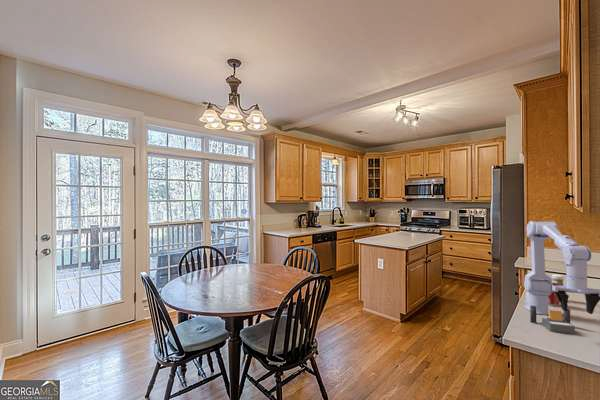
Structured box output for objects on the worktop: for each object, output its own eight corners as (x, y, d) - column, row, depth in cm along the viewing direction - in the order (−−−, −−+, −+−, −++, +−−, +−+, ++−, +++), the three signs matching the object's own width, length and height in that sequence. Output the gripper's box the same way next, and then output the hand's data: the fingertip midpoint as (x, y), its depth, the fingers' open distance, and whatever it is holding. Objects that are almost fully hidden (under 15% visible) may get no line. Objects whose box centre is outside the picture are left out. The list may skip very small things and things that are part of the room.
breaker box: (542, 325, 118) (542, 315, 118) (565, 327, 115) (565, 318, 115) (550, 331, 112) (550, 321, 112) (574, 334, 110) (574, 324, 110)
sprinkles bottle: (566, 301, 148) (565, 276, 148) (556, 301, 148) (556, 276, 149) (559, 298, 152) (559, 274, 152) (550, 298, 153) (550, 273, 153)
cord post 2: (562, 324, 118) (562, 308, 118) (568, 325, 118) (568, 308, 118) (565, 326, 116) (565, 309, 117) (571, 327, 116) (571, 310, 116)
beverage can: (542, 301, 147) (542, 279, 148) (558, 304, 143) (558, 281, 144) (543, 304, 142) (543, 281, 143) (560, 307, 138) (559, 283, 139)
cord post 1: (529, 321, 122) (529, 305, 122) (534, 321, 121) (534, 305, 121) (531, 322, 120) (531, 306, 120) (537, 323, 119) (537, 307, 119)
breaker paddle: (549, 319, 116) (547, 310, 117) (561, 320, 115) (559, 311, 116) (551, 319, 115) (549, 310, 116) (562, 320, 114) (560, 311, 115)
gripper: (559, 277, 106) (559, 312, 105) (608, 281, 101) (609, 318, 101) (549, 273, 112) (549, 306, 112) (595, 276, 108) (595, 311, 107)
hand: (576, 311), depth 107 cm, fingers open, 7 cm apart
